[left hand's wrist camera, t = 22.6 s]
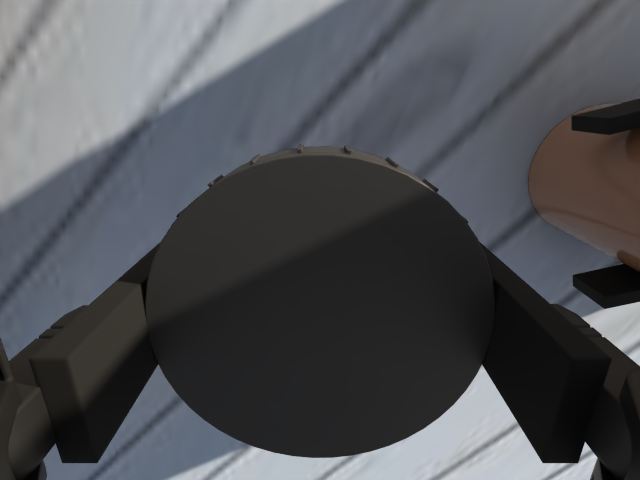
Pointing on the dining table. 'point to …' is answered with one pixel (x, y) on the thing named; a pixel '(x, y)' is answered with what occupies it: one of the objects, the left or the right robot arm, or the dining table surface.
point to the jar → (591, 187)
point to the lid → (320, 303)
